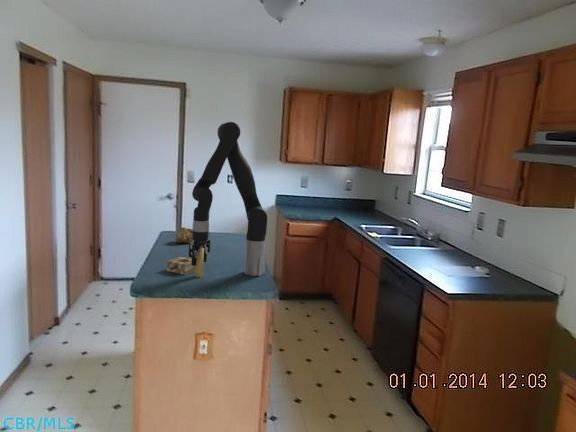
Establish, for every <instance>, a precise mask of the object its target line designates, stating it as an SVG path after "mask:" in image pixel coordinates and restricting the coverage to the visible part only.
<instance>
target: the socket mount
mask: <svg viewBox="0 0 576 432" xmlns="http://www.w3.org/2000/svg"><path fill="white" fill-rule="evenodd" d="M166 262H167V265H166V270H167V271H166V272H171V273H174V272H175V273H174V274H180V275H183V274H184V275H183V276H188V275H190V274H193V273H195V266H192V264H191V262H192V258H190V257H184V256H178V257H175V258H172V259H169V260H167V261H166ZM189 273H190V274H189Z"/></svg>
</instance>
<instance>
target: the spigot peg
mask: <svg viewBox="0 0 576 432" xmlns="http://www.w3.org/2000/svg"><path fill="white" fill-rule="evenodd" d="M203 259H204V247H203V248H202V249H201V250H200V253H199V254H198V255H197V262H196V266H195V272H194V277H195V276H196V277H195V278H198V277H200V278H203V277H202V276H204V262H203Z"/></svg>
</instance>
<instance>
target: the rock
mask: <svg viewBox="0 0 576 432" xmlns="http://www.w3.org/2000/svg"><path fill="white" fill-rule="evenodd" d="M192 229H193V228H187V227H185V226H182V227H180V228H179V229H178V232H177V233H176V238H175V241H176V243H179V244H183V243H186V244H191V243H192V242H194V240H193V239H192Z"/></svg>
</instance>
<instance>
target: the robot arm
mask: <svg viewBox="0 0 576 432" xmlns="http://www.w3.org/2000/svg"><path fill="white" fill-rule="evenodd" d="M240 136H241V127H240V126H239V125H238V124H237V123H236V122H234V121H227V122H224V123H221V124H220V125H219V127H218V128H217V137H218V140H219V141H218V144H217V147H216V148H215V151H214V152H213V154H212V156H211V157H210V158H209V160H208V162H207V164H206V165H205V168H204V169H203V173H202V175H201V177H200V178H199V179H198V180H197V182H196V184H195V185H194V186H193V190H192V192H191V193H192V194H191V195H192V198H193V199H194V200H195V201H197V207H194V209H193V221H192V228H191V229H192V239H193V243H192V244H191V243H188V244H189V245H188V258H190V259H192V262H191V264H192V266H196V262H197V255H198V254H199V253H200V250H201V249H202V248H203V247H204V259H203V263H207V260H208V259H207V257H208V255H209V253H210V252H211V240H210V239H209V235H210V233H209V232H210V210H211V206H212V204H213V199H214V197H213V196H214V195H213V192H212V190H211V189H210V188H211V186H212V185H215V184H217V183H216V182H217V181H218V179H219V176H220V174H221V171H222V169H223V166H225V163H226V160H227V163H228V166H229V168H230V171H231V174H232V177H233V181H234V184H235V186H236V188H237V190H238V193H239V195H240V196H241V200H242V202H243V206H244V209H245V213H246V219H247V231H246V237H245V253H244V254H245V255H244V268H243V269H244V271H243V272H244V274H245V275H247V276H251V277H252V276H253V277H261V276H262V275H265V269H266V268H265V267H266V256H267V255H266V254H265V244H266V236H267V231H268V230H267V228H268V227H267V226H268V214H267V212H266V211H265V210H264V209H263V208H264V207H262V205H261V202H260V200H259V197H258V194H257V189H256V181H255V178H254V174H253V172H252V168H251V166H250V164H249V162H248V160H247V158H245V156H244V154H243V152H242V151H241V149H240V146H239V142H238V140H239V138H240Z"/></svg>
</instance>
